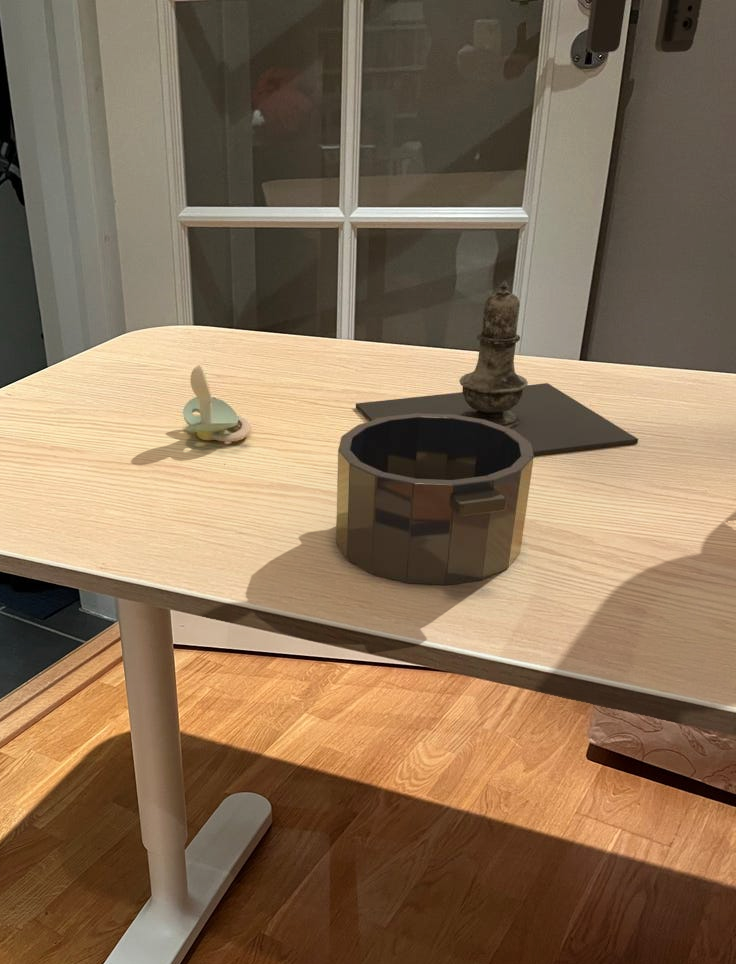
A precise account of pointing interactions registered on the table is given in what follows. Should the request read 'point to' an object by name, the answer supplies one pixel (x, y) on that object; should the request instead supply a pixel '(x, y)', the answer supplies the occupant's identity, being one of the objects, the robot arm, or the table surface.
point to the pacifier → (211, 413)
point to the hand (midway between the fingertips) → (635, 52)
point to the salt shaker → (496, 363)
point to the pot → (432, 497)
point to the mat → (523, 418)
